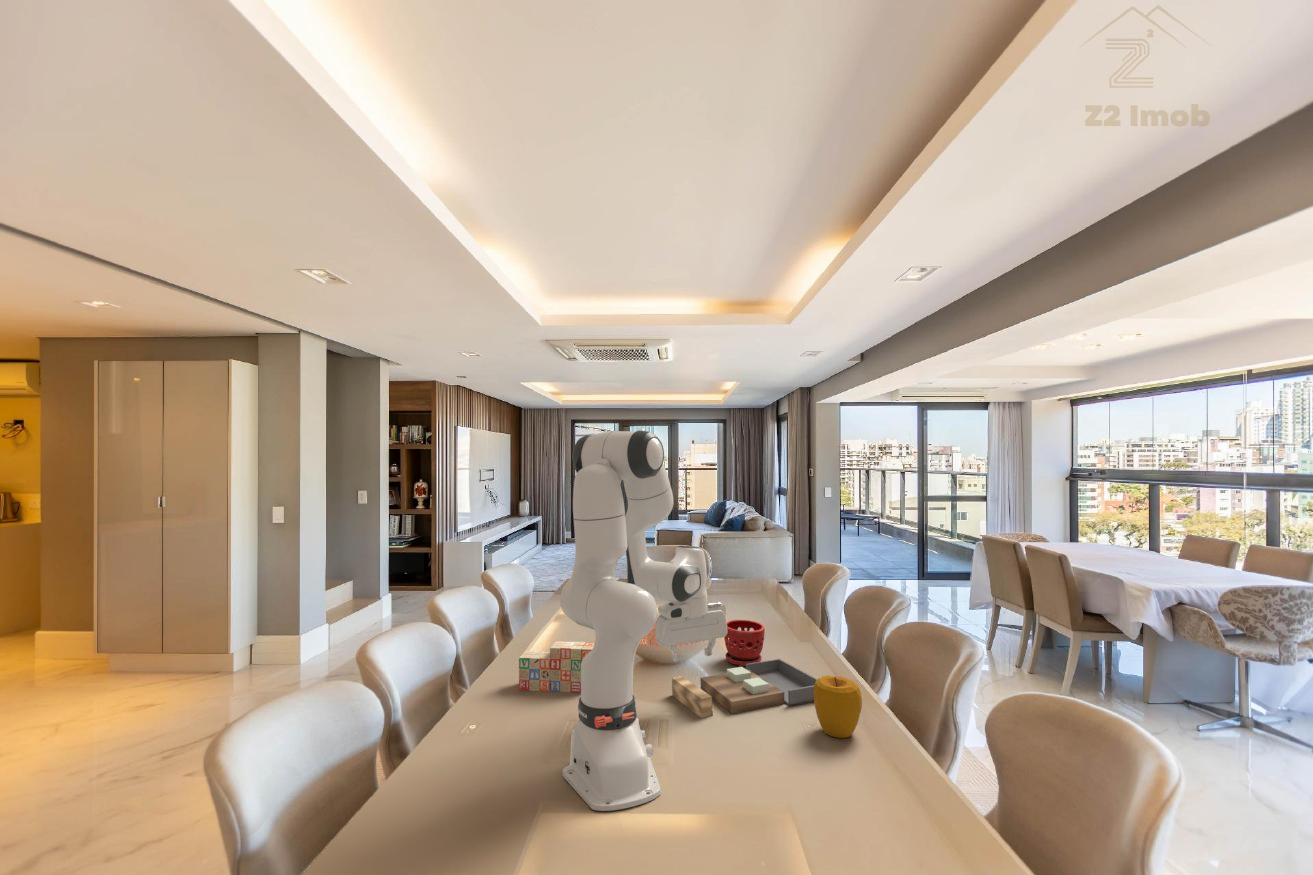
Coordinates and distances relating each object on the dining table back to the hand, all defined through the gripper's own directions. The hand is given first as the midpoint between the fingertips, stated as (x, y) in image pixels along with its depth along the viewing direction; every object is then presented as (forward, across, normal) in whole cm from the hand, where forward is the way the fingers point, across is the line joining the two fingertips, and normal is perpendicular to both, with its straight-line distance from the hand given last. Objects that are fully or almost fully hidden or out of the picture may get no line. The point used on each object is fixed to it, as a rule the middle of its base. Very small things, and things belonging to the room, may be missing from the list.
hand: (692, 657), depth 148 cm
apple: (+13, -24, +28) cm, 39 cm away
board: (+12, -14, 0) cm, 19 cm away
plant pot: (+13, -29, -23) cm, 39 cm away
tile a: (+9, -16, +5) cm, 19 cm away
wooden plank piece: (+12, +1, 0) cm, 12 cm away
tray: (+13, -29, 0) cm, 31 cm away
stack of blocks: (+12, +31, -26) cm, 42 cm away
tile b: (+9, -16, -4) cm, 19 cm away
